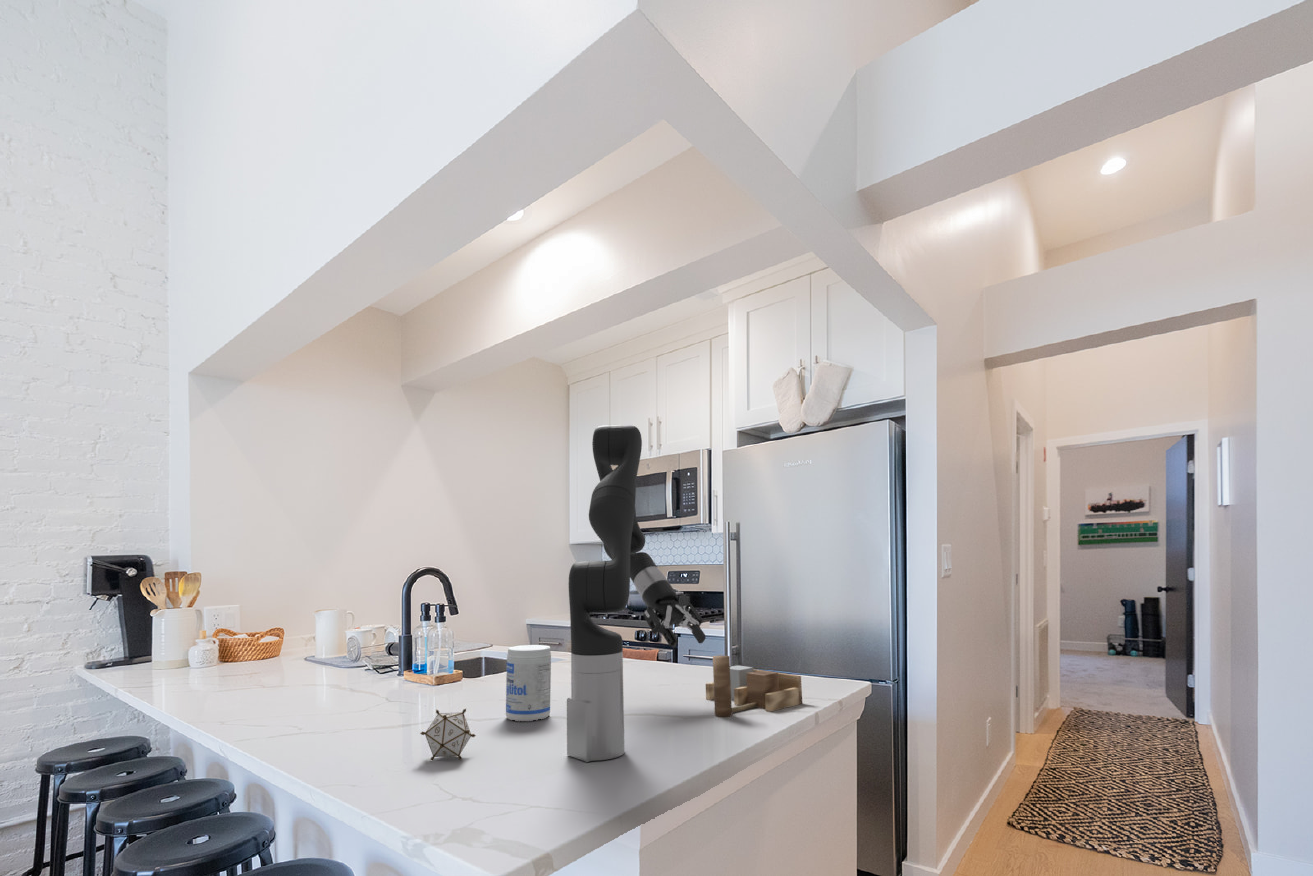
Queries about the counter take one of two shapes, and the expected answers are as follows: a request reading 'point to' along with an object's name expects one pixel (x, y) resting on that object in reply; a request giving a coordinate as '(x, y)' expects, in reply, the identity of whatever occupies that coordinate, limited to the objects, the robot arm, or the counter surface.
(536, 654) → the supplement tub
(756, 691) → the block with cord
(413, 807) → the counter surface
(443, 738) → the game die
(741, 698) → the lane shelf
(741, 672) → the grey block
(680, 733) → the counter surface
